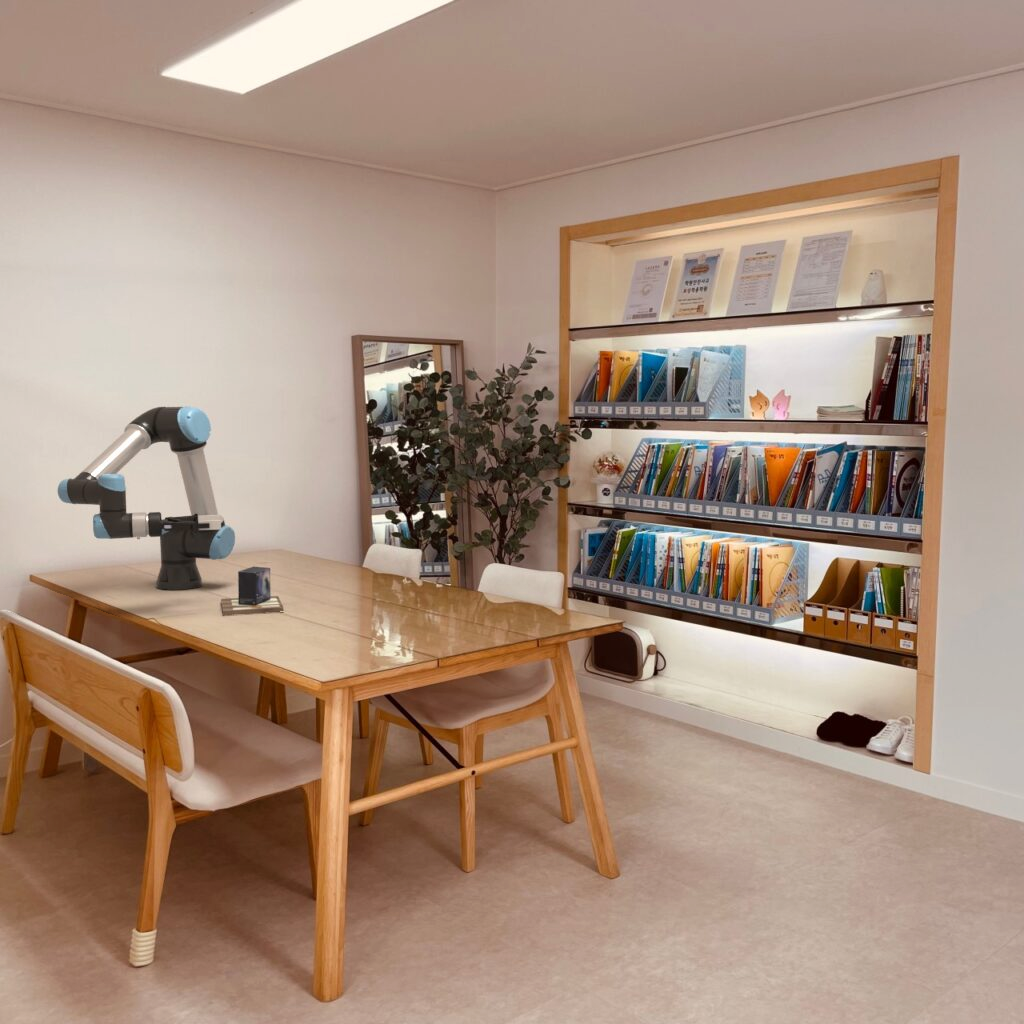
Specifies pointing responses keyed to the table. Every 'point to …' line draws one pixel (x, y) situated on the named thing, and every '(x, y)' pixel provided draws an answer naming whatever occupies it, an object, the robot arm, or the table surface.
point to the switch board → (250, 606)
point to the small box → (254, 585)
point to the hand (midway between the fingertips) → (220, 522)
